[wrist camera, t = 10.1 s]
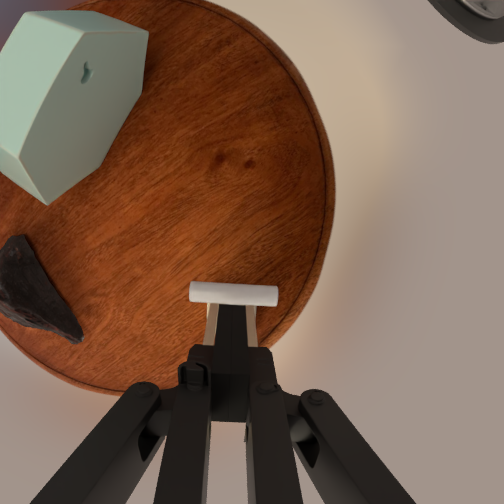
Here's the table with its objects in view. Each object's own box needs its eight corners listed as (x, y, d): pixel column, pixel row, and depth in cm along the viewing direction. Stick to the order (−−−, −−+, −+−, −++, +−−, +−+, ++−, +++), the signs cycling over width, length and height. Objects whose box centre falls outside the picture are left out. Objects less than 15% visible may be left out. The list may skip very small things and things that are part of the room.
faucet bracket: (208, 286, 39) (194, 346, 26) (257, 289, 40) (266, 350, 26) (207, 329, 41) (195, 398, 28) (253, 332, 41) (259, 402, 28)
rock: (23, 226, 36) (-18, 242, 27) (91, 329, 40) (65, 364, 32) (-2, 252, 37) (-40, 271, 28) (62, 348, 41) (35, 382, 32)
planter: (97, 96, 36) (95, -31, 17) (140, 119, 38) (157, -14, 19) (16, 192, 30) (-56, 82, 11) (59, 223, 32) (-7, 114, 13)
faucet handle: (192, 271, 22) (187, 297, 21) (277, 276, 23) (279, 302, 21) (199, 359, 30) (196, 380, 28) (259, 363, 31) (260, 384, 29)
